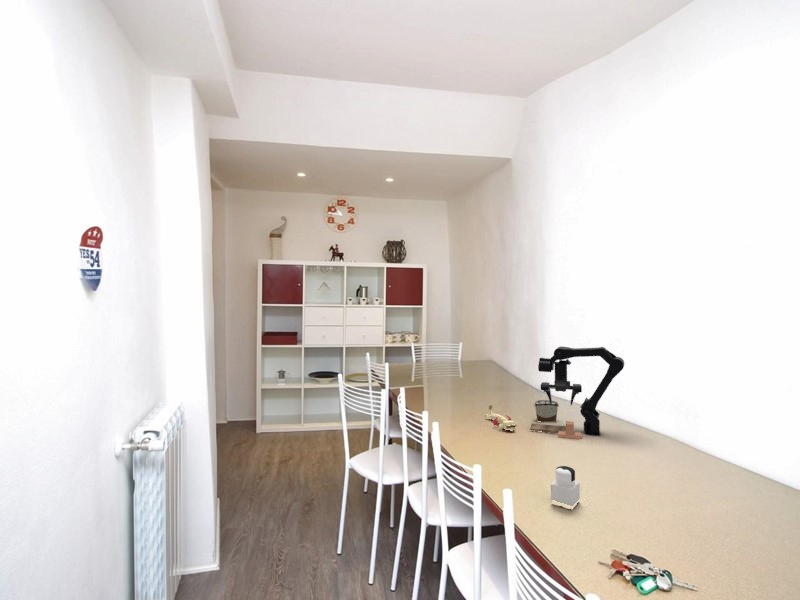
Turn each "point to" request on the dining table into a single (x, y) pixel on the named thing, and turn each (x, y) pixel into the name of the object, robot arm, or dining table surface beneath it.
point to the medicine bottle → (565, 486)
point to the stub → (569, 431)
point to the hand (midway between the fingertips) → (561, 404)
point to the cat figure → (501, 420)
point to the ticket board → (547, 428)
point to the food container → (546, 410)
